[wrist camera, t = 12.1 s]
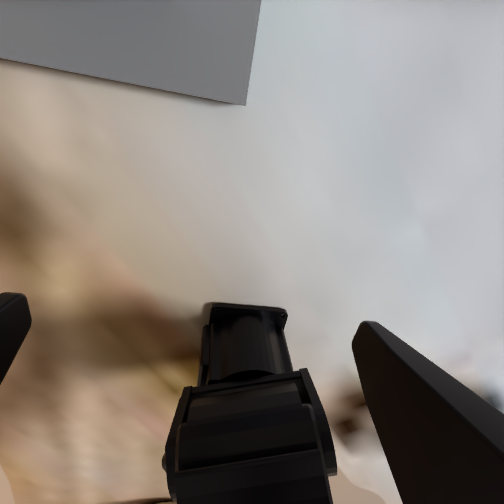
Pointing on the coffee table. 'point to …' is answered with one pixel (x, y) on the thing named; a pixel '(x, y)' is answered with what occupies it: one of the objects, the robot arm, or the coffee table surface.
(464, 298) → the coffee table surface
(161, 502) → the canister
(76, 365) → the coffee table surface
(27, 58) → the pin plate
